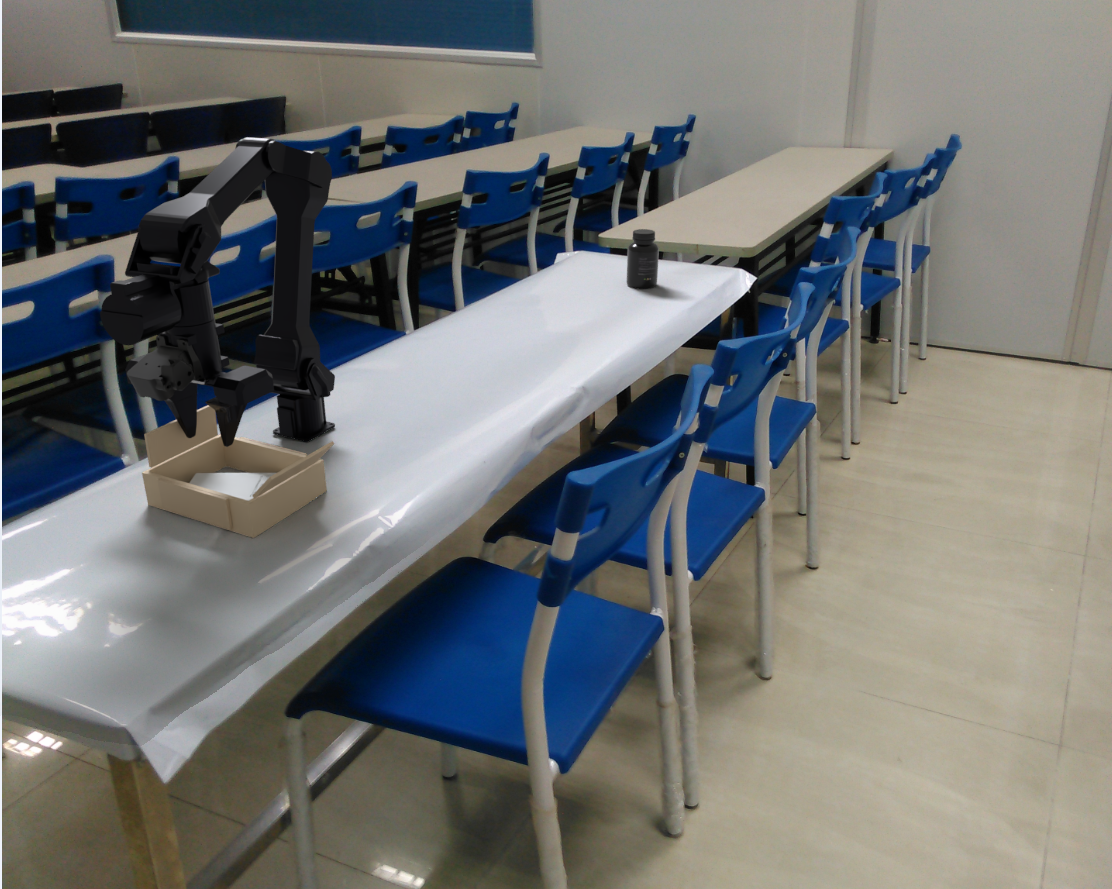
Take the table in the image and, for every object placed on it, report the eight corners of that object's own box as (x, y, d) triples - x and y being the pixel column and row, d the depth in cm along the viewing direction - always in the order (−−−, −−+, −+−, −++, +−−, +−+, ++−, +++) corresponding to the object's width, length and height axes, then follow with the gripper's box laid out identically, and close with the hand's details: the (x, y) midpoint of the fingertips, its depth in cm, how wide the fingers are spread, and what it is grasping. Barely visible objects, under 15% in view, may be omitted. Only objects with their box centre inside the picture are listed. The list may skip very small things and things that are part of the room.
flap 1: (151, 467, 117) (149, 466, 117) (217, 435, 126) (215, 434, 126) (146, 434, 115) (144, 433, 116) (214, 404, 124) (212, 403, 124)
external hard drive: (198, 482, 124) (295, 481, 124) (178, 513, 116) (281, 512, 117) (196, 471, 123) (293, 470, 124) (176, 502, 116) (279, 500, 116)
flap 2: (314, 459, 120) (316, 461, 120) (252, 495, 111) (254, 498, 111) (332, 440, 117) (334, 443, 117) (269, 476, 108) (272, 479, 108)
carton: (228, 462, 130) (224, 432, 128) (329, 490, 123) (325, 458, 121) (145, 506, 118) (138, 474, 116) (250, 539, 111) (245, 505, 109)
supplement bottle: (621, 282, 215) (623, 228, 210) (649, 280, 216) (652, 227, 211) (633, 290, 209) (635, 235, 204) (661, 288, 210) (664, 233, 205)
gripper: (76, 328, 110) (103, 452, 116) (196, 350, 102) (219, 481, 109) (152, 304, 119) (173, 420, 125) (268, 322, 111) (285, 445, 118)
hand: (209, 441), depth 119 cm, fingers open, 6 cm apart
